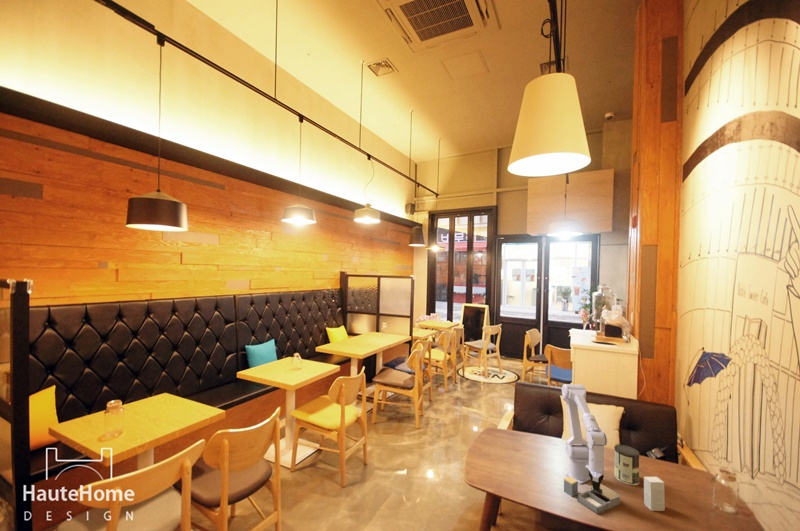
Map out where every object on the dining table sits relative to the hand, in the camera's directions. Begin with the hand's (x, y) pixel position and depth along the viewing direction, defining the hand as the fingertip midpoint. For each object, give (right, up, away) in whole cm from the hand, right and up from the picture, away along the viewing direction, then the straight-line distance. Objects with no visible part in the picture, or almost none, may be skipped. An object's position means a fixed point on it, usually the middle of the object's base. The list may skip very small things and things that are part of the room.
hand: (596, 489), depth 147 cm
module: (-9, -4, +4) cm, 11 cm away
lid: (+5, -2, +1) cm, 5 cm away
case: (0, -4, -2) cm, 5 cm away
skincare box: (+22, -5, -4) cm, 23 cm away
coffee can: (+24, -6, +16) cm, 30 cm away
